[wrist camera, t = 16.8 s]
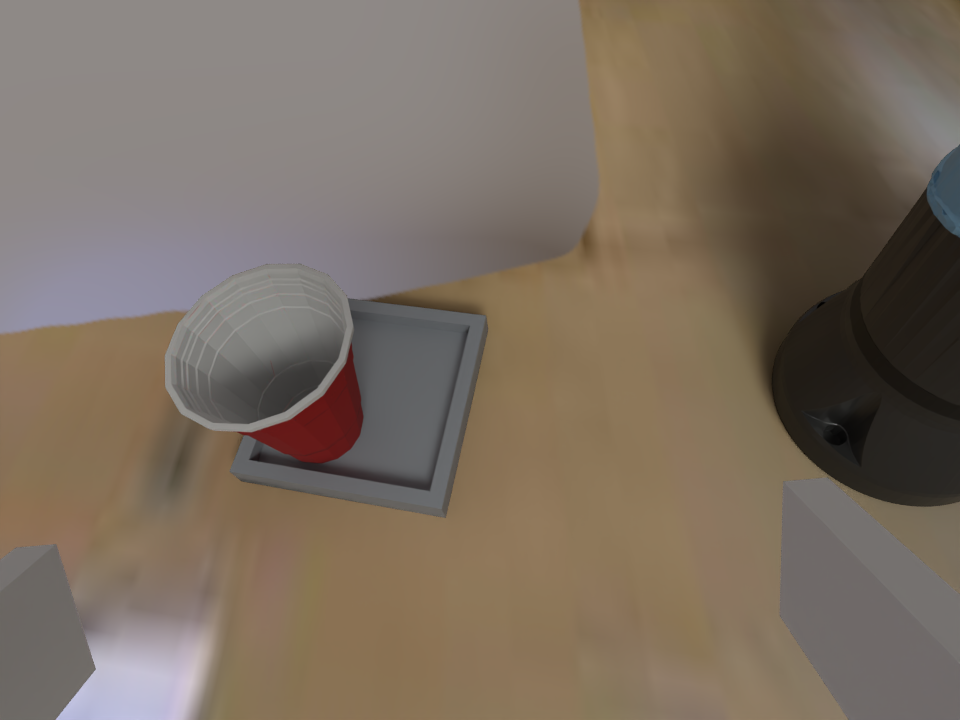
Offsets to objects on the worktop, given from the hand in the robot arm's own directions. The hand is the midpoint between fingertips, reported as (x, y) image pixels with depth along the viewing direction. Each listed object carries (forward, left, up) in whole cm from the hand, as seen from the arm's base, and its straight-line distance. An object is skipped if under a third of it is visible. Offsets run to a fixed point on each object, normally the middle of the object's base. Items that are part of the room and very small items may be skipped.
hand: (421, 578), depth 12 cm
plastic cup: (+15, -13, -29) cm, 35 cm away
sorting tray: (+13, -16, -30) cm, 36 cm away
